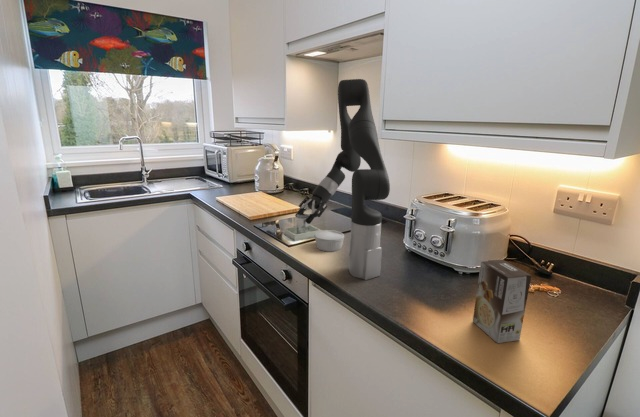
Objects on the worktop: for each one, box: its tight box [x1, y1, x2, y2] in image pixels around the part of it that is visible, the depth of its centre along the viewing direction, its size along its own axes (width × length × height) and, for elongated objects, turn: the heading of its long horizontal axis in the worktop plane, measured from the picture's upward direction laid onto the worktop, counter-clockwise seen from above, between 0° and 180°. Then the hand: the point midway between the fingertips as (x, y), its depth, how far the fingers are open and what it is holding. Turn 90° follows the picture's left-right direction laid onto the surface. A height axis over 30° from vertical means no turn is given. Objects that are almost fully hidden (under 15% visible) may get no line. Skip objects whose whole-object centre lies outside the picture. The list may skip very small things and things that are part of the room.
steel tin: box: [295, 213, 310, 234], centre depth 143 cm, size 5×5×8 cm
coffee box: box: [472, 259, 532, 344], centre depth 79 cm, size 9×6×16 cm
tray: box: [283, 223, 322, 242], centre depth 143 cm, size 10×13×2 cm
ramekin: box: [314, 229, 345, 253], centre depth 130 cm, size 11×11×5 cm
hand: (301, 220), depth 142 cm, fingers open, 8 cm apart
